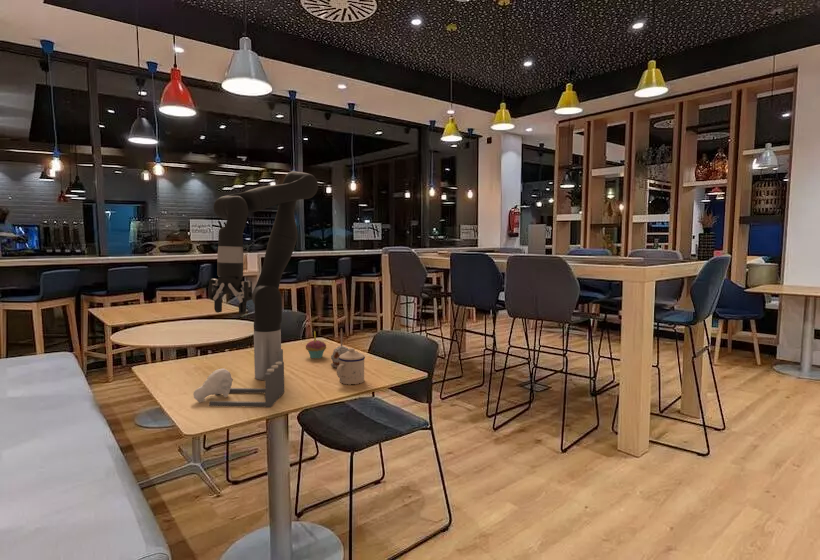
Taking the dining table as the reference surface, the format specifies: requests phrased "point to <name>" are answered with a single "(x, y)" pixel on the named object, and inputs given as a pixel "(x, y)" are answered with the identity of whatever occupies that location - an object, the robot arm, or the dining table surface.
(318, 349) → the cupcake
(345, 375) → the teacup with lid
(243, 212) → the robot arm
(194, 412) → the dining table surface
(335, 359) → the decorative ornament
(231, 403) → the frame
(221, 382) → the cream figurine
